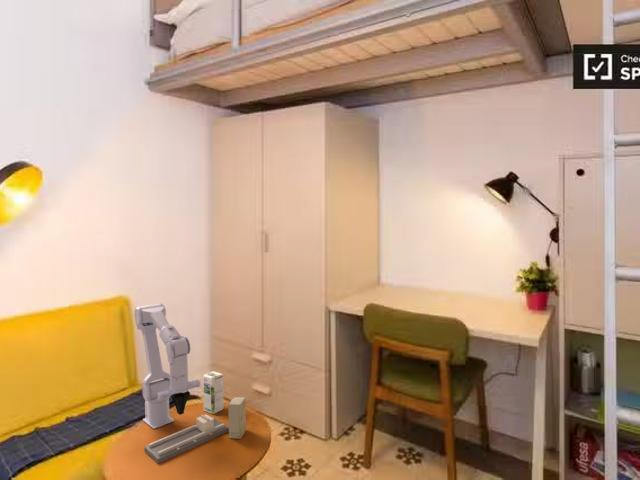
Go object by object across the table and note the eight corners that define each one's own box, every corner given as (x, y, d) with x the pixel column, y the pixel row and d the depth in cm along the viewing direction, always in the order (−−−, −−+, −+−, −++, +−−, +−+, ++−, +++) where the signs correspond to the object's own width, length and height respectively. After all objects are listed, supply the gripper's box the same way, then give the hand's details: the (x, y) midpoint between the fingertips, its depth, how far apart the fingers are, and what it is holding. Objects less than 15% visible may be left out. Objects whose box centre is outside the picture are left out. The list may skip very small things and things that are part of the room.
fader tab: (196, 427, 147) (196, 416, 146) (206, 423, 150) (206, 412, 149) (203, 433, 143) (203, 421, 143) (214, 428, 146) (213, 417, 146)
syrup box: (203, 410, 163) (202, 375, 162) (214, 405, 168) (213, 370, 167) (213, 414, 160) (211, 378, 159) (224, 408, 165) (223, 373, 164)
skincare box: (240, 439, 142) (240, 405, 141) (228, 438, 143) (227, 404, 142) (246, 429, 148) (245, 397, 148) (234, 429, 149) (233, 396, 148)
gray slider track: (144, 451, 136) (144, 443, 136) (213, 421, 155) (213, 415, 154) (158, 463, 129) (157, 455, 129) (228, 431, 148) (228, 424, 148)
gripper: (163, 384, 131) (165, 425, 132) (204, 371, 141) (205, 409, 142) (153, 378, 136) (155, 418, 137) (193, 365, 146) (195, 403, 147)
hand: (180, 413), depth 140 cm, fingers closed
